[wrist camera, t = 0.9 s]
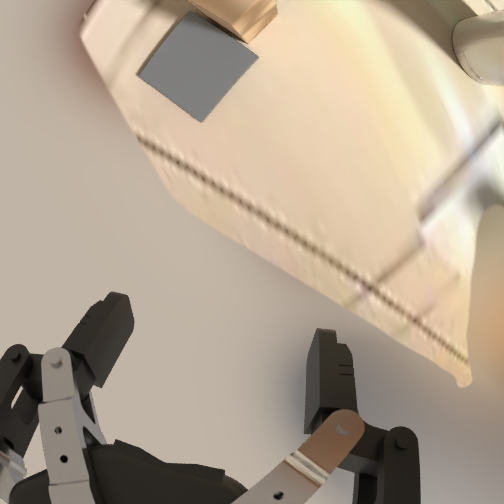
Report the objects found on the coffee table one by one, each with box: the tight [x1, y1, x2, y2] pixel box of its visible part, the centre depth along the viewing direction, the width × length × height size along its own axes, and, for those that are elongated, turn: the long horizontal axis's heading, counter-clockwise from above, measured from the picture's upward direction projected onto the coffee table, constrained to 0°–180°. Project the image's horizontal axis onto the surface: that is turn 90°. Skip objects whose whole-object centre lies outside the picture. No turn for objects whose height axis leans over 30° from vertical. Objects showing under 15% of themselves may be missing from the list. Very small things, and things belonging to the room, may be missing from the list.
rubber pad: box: [138, 11, 259, 123], centre depth 28 cm, size 10×10×1 cm
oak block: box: [187, 0, 278, 44], centre depth 20 cm, size 5×6×10 cm
